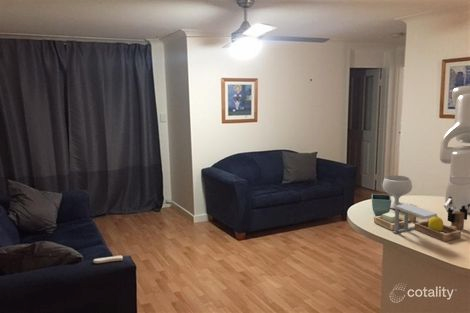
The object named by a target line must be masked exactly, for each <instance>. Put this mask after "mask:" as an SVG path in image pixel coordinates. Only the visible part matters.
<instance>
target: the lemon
mask: <svg viewBox="0 0 470 313" xmlns="http://www.w3.org/2000/svg"><path fill="white" fill-rule="evenodd" d="M428 220H429V223H428V226H429V227H428V228H430V229H433V230H436V231H438V232H441V233H442V232H443V231H442V229H443V225H444V222H443V219H442V218H441V217H439V216H438V215H437V216H435V217H431V218H429V219H428Z"/></svg>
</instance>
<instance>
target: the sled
mask: <svg viewBox="0 0 470 313" xmlns="http://www.w3.org/2000/svg"><path fill="white" fill-rule="evenodd" d="M409 204H410V205H413V206H416V207H418V206H417V205H415V204H412V203H409ZM416 221H417V216H415V215H413V214H410V213H409V215H408V223H409V222H411V223H412V222H416ZM373 223H375V224H376V225H379V226H382V227H384V228H385V229H388V230H390V231H395V223H393V224H392V223H390V222H387V221H385V220H382V215H381V216H374V217H373ZM400 229H404V217H402V218H401V217H399V230H400Z"/></svg>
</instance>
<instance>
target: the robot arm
mask: <svg viewBox="0 0 470 313" xmlns="http://www.w3.org/2000/svg"><path fill="white" fill-rule="evenodd" d="M451 100H452V103H453V107H454V110H455V111H454V112H455V113H454V122H453V126H452V127H451V128H449V129H448V130H447V131H446V132H445V134H444V135H443V136H442V139H441V142H440V149H439V160H440V162H441V163H442V164H445V165H446V164H447V165H450V168H449V169H450V170H449V182H448V184H447V187H446V191H445V202H444V205H443V208H444V209H445V210H446V212H447V222H450V223H451V222H452V223H455V216H456V214H454V213H455V211H460V212H463V213H465V214H464V221H466V220H467V219H468V214H470V145H457V146H448V145H449V142H450V141H451V140H452V139H453V138H455V140H456V141H457V143H460V144H461V143H462V144H470V85H461V86H457V87H455V88H453V89H452V92H451Z"/></svg>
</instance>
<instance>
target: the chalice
mask: <svg viewBox="0 0 470 313" xmlns="http://www.w3.org/2000/svg"><path fill="white" fill-rule="evenodd" d="M382 189H383V192H386V193H387V194H388V195H391V197H393V198H394V201H391V207H390V210H391V209H392V210H395V206H397V205H402V204H407V203H406V202H401V201H399V199H400V198H401V197H402V196H406V195H407V194H409V193H410V192H411V191H412V190H413V185H412V180H411V178H410V177H408V176H405V175H395V174H394V175H393V174H392V175H387V176H385V177H384V179H383V182H382Z"/></svg>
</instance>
